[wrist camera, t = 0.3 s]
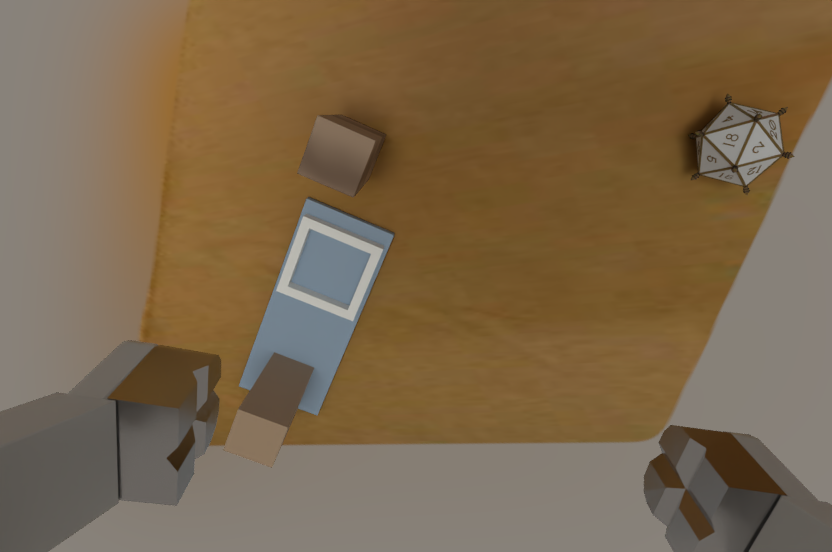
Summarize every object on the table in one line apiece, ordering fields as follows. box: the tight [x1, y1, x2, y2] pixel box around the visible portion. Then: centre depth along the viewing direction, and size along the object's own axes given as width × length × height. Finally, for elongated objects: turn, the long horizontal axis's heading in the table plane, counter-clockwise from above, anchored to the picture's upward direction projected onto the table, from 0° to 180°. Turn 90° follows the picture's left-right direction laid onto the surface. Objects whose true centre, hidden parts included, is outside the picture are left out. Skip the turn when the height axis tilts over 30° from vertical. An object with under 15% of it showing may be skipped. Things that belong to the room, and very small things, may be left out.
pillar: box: [297, 115, 386, 197], centre depth 47 cm, size 5×5×12 cm
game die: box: [688, 94, 794, 195], centre depth 49 cm, size 9×8×10 cm
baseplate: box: [224, 197, 394, 468], centre depth 53 cm, size 24×10×13 cm, turn 157°
